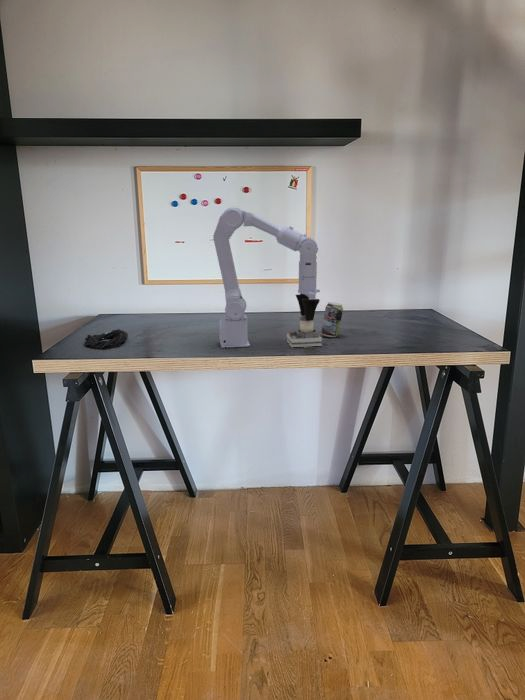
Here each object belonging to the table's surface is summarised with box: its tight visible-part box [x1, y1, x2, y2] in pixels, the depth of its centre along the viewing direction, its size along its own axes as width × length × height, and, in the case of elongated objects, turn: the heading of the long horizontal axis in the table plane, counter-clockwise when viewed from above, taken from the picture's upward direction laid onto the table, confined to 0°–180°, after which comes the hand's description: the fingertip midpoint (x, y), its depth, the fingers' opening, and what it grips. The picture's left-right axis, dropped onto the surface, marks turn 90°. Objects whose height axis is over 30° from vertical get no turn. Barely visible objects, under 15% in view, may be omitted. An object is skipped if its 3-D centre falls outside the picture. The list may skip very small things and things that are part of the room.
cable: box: [84, 328, 129, 350], centre depth 175 cm, size 17×14×4 cm
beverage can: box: [321, 301, 344, 338], centre depth 180 cm, size 6×7×12 cm
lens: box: [299, 316, 315, 333], centre depth 170 cm, size 5×5×6 cm
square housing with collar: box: [286, 328, 323, 348], centre depth 170 cm, size 10×8×4 cm
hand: (306, 317), depth 169 cm, fingers open, 7 cm apart
